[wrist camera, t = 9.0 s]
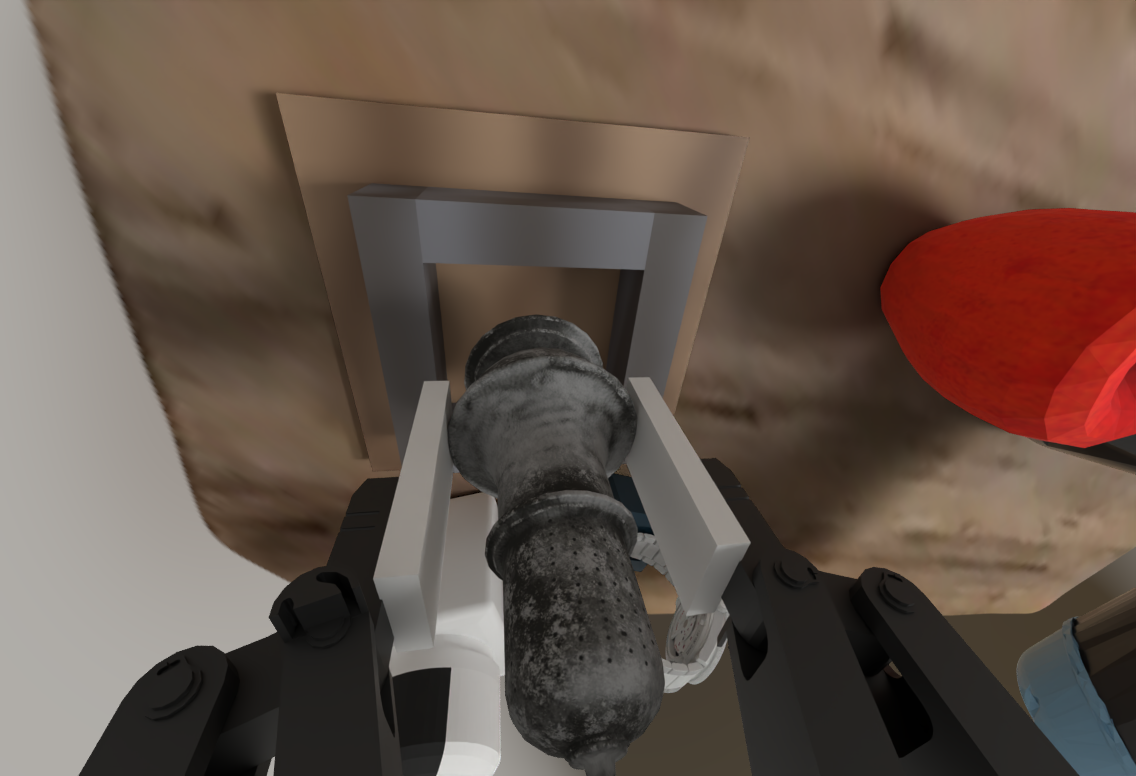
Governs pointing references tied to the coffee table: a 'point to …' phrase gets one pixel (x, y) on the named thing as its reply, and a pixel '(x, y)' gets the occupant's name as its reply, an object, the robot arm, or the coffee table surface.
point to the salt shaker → (560, 538)
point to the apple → (1025, 320)
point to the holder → (503, 241)
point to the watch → (687, 635)
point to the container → (456, 659)
